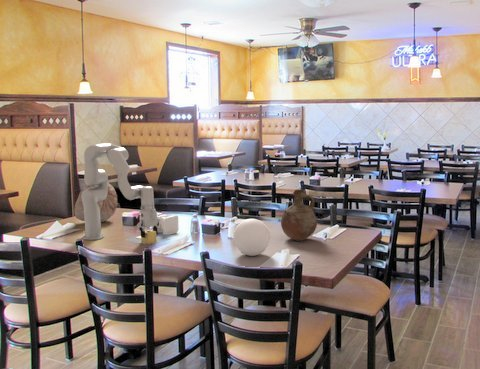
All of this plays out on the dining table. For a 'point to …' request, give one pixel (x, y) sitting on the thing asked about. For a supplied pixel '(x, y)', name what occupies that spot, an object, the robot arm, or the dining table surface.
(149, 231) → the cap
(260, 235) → the sphere
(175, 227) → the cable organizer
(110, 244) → the dining table surface
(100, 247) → the dining table surface
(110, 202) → the fossil
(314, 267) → the dining table surface
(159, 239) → the board
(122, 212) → the dining table surface
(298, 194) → the jug
